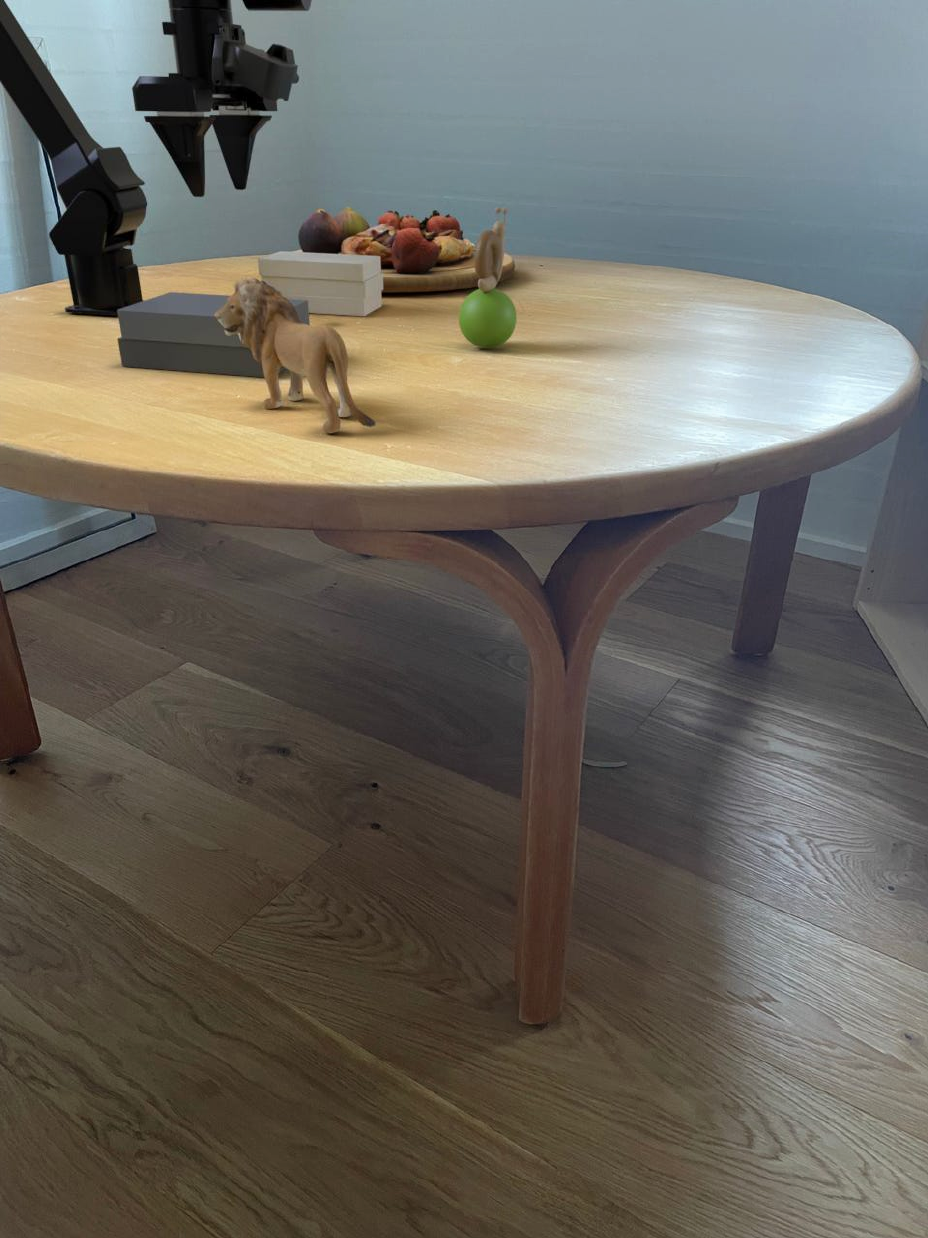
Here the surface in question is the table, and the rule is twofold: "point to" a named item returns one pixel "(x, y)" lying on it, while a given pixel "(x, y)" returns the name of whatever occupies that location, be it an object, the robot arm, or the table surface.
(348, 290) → the light grey block
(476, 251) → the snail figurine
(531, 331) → the table surface
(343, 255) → the white rectangular block
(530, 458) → the table surface
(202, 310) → the dark grey box
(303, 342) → the lion figurine
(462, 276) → the wooden plate
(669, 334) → the table surface
